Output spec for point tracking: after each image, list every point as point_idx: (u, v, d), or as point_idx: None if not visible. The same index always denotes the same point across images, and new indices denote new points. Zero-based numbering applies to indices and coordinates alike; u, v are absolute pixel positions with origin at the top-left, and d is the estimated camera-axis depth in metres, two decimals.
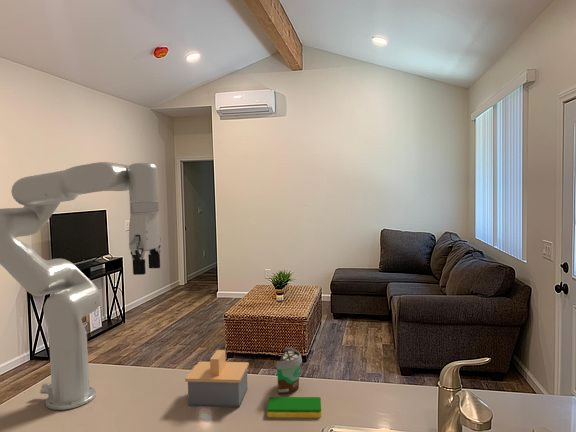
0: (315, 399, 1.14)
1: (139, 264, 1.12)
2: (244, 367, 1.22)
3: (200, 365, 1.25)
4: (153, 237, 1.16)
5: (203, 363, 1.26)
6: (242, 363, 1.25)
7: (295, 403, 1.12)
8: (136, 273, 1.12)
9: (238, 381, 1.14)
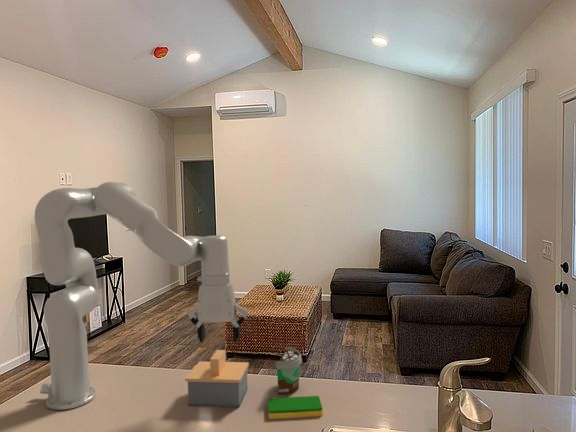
0: (314, 398, 1.15)
1: (239, 329, 1.20)
2: (244, 367, 1.22)
3: (200, 365, 1.25)
4: None
5: (203, 363, 1.26)
6: (242, 363, 1.25)
7: (295, 403, 1.12)
8: (236, 340, 1.19)
9: (238, 381, 1.14)
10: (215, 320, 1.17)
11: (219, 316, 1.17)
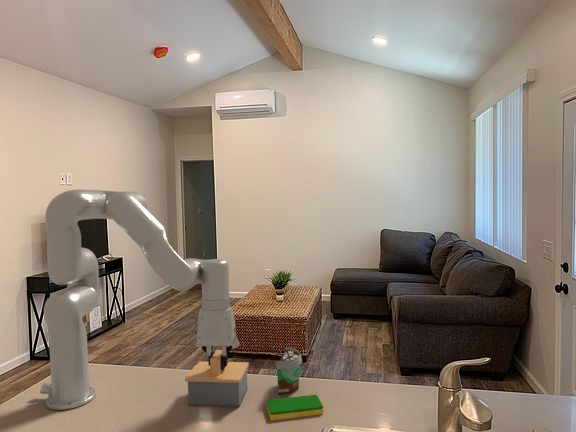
0: (313, 397, 1.15)
1: (227, 358, 1.21)
2: (244, 367, 1.22)
3: (200, 365, 1.25)
4: None
5: (203, 363, 1.26)
6: (242, 363, 1.25)
7: (295, 403, 1.12)
8: (223, 368, 1.20)
9: (238, 381, 1.14)
10: (214, 344, 1.18)
11: (219, 340, 1.17)
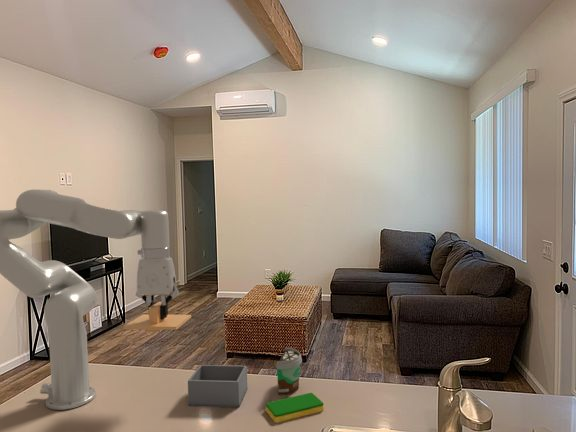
0: (310, 395, 1.17)
1: (167, 308, 1.22)
2: (185, 318, 1.23)
3: (142, 316, 1.26)
4: None
5: (146, 315, 1.27)
6: (184, 315, 1.26)
7: (295, 403, 1.12)
8: (163, 317, 1.21)
9: (175, 328, 1.15)
10: (153, 293, 1.19)
11: (157, 289, 1.19)
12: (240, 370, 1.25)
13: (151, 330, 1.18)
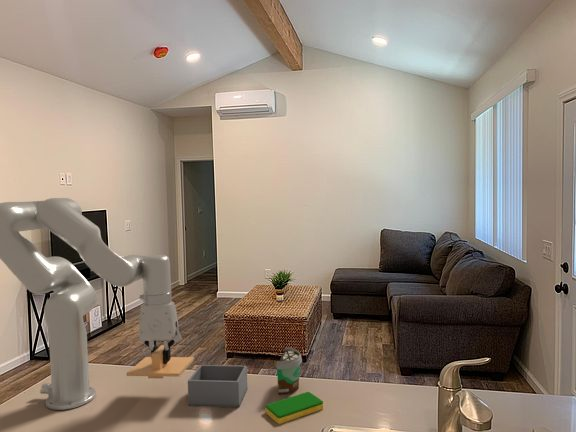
0: (308, 394, 1.17)
1: None
2: (187, 361, 1.24)
3: (145, 360, 1.27)
4: None
5: (149, 358, 1.28)
6: (187, 358, 1.27)
7: (295, 403, 1.13)
8: (166, 362, 1.22)
9: (178, 375, 1.16)
10: (156, 338, 1.19)
11: (160, 335, 1.19)
12: (240, 370, 1.25)
13: (154, 376, 1.18)
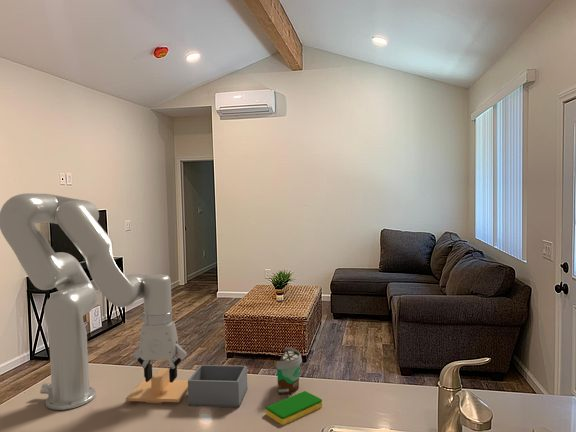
0: (305, 393, 1.18)
1: (176, 370, 1.23)
2: (187, 385, 1.24)
3: (144, 383, 1.27)
4: None
5: (148, 381, 1.28)
6: (186, 381, 1.27)
7: (295, 403, 1.13)
8: (173, 380, 1.22)
9: (177, 400, 1.16)
10: (156, 358, 1.20)
11: (160, 355, 1.19)
12: (240, 370, 1.25)
13: (154, 401, 1.18)
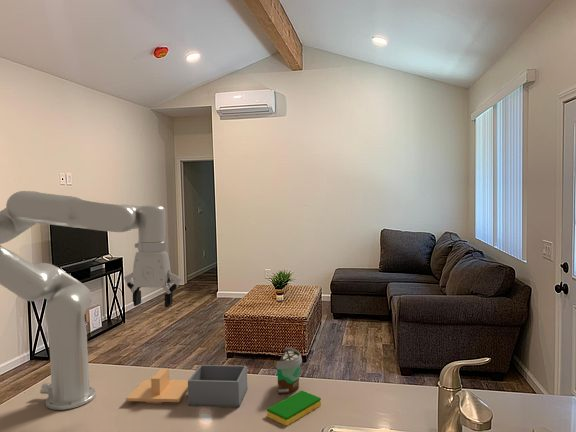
0: (303, 393, 1.18)
1: (172, 296, 1.25)
2: (187, 385, 1.24)
3: (144, 383, 1.27)
4: None
5: (148, 381, 1.28)
6: (186, 381, 1.27)
7: (295, 402, 1.13)
8: (168, 305, 1.24)
9: (177, 400, 1.16)
10: (148, 285, 1.23)
11: (152, 281, 1.23)
12: (240, 370, 1.25)
13: (154, 401, 1.18)
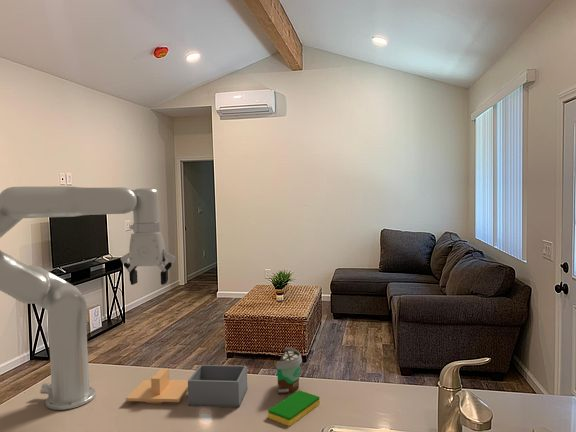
0: (301, 393, 1.18)
1: (167, 274, 1.32)
2: (187, 385, 1.24)
3: (144, 383, 1.27)
4: None
5: (148, 381, 1.28)
6: (186, 381, 1.27)
7: (295, 402, 1.13)
8: (164, 283, 1.31)
9: (177, 400, 1.16)
10: (144, 264, 1.29)
11: (148, 260, 1.29)
12: (240, 370, 1.25)
13: (154, 401, 1.18)
